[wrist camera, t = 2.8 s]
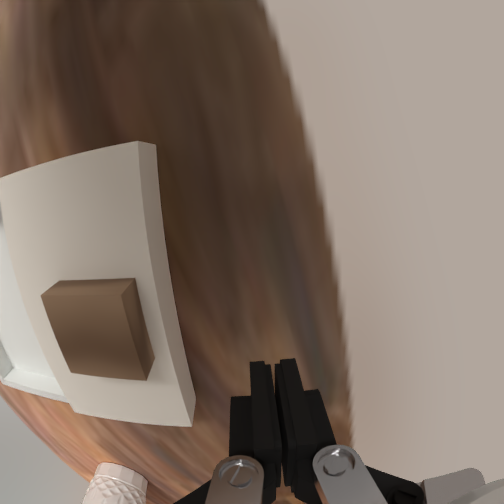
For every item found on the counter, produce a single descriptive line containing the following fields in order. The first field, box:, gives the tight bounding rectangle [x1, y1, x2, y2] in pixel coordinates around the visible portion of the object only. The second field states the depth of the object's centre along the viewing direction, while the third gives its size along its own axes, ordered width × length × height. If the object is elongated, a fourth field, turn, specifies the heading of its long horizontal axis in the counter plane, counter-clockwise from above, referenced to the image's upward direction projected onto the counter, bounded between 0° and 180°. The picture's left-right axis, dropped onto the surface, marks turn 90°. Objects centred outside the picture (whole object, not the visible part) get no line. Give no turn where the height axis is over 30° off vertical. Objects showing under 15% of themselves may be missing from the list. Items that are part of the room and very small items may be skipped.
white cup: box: [82, 462, 148, 504], centre depth 20 cm, size 8×8×10 cm
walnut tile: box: [41, 278, 155, 381], centre depth 13 cm, size 5×5×2 cm
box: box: [0, 203, 69, 403], centre depth 15 cm, size 17×10×2 cm, turn 3°
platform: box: [0, 141, 196, 427], centre depth 15 cm, size 18×10×3 cm, turn 3°
